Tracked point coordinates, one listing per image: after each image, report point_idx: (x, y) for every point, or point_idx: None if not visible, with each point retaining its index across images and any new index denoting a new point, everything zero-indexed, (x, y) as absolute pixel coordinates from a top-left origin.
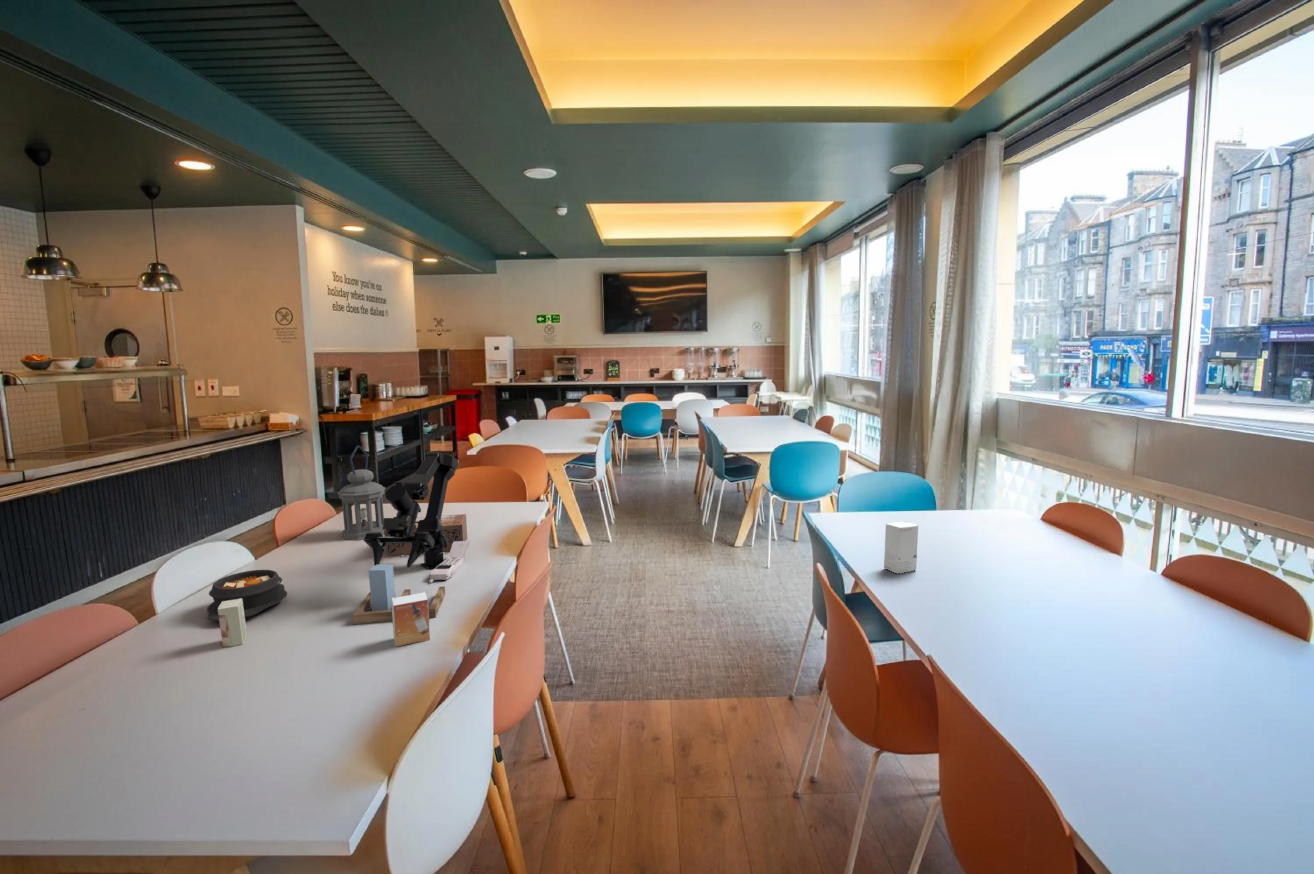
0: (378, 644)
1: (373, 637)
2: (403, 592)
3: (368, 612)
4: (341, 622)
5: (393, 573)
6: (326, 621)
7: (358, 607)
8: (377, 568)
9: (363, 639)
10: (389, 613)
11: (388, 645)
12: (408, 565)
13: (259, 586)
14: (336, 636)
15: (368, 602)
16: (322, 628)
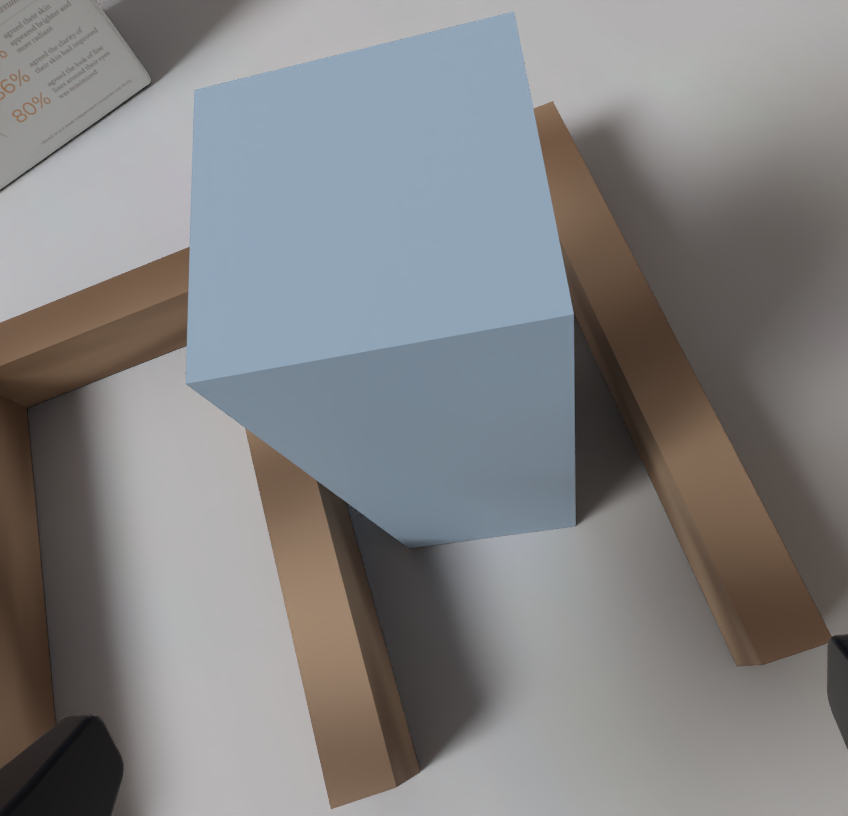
0: (210, 9)
1: (284, 58)
2: (361, 680)
3: None
4: (684, 163)
5: (272, 446)
6: (841, 148)
7: (618, 234)
8: (394, 126)
9: (333, 25)
10: None
11: (149, 16)
12: (47, 733)
13: None
14: (542, 4)
15: (626, 388)
16: (757, 55)
